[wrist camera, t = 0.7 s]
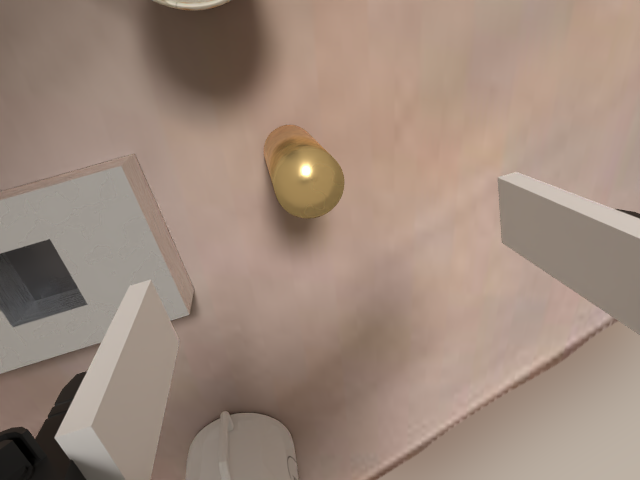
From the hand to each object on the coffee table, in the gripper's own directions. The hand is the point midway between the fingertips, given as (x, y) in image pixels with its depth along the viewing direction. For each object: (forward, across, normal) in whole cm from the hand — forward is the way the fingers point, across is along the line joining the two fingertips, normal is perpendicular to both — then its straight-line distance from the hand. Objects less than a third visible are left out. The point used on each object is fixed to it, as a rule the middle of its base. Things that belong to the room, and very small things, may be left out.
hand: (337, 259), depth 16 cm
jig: (+19, -20, -3) cm, 28 cm away
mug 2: (+20, -12, -27) cm, 35 cm away
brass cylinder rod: (+19, 0, 0) cm, 19 cm away
